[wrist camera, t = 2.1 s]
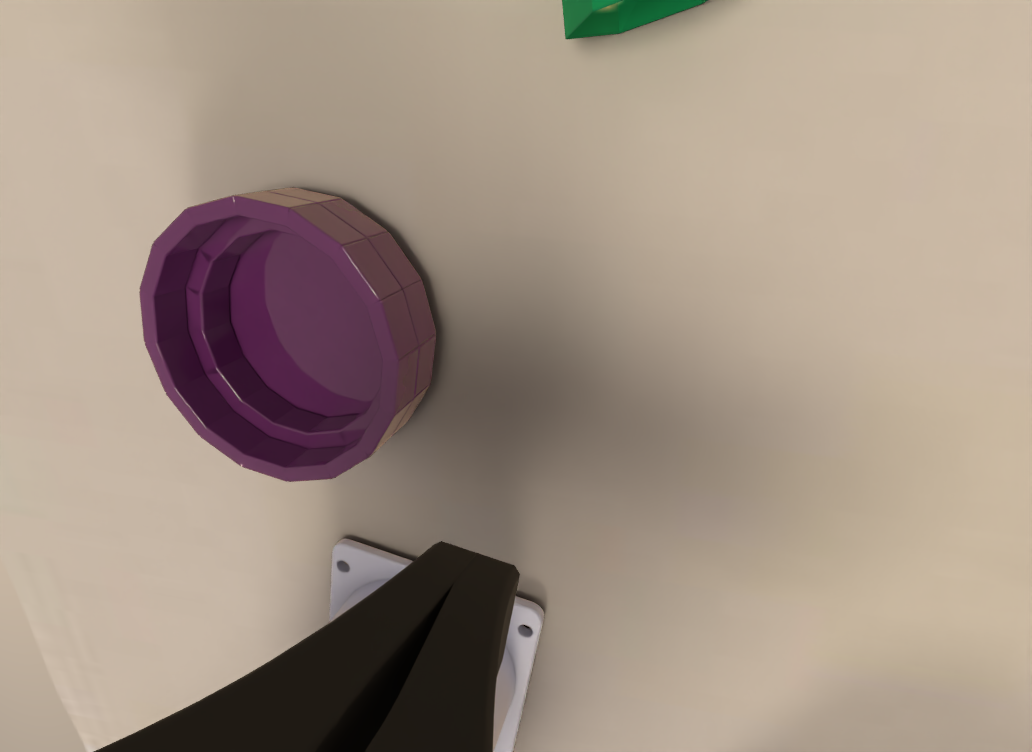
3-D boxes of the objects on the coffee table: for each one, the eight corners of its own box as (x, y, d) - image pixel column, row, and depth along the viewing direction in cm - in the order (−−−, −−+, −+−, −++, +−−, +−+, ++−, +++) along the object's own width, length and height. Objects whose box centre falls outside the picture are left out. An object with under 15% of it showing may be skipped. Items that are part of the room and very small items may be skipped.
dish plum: (428, 465, 21) (385, 515, 18) (219, 401, 23) (152, 438, 20) (456, 218, 18) (409, 234, 15) (208, 165, 19) (126, 171, 17)
